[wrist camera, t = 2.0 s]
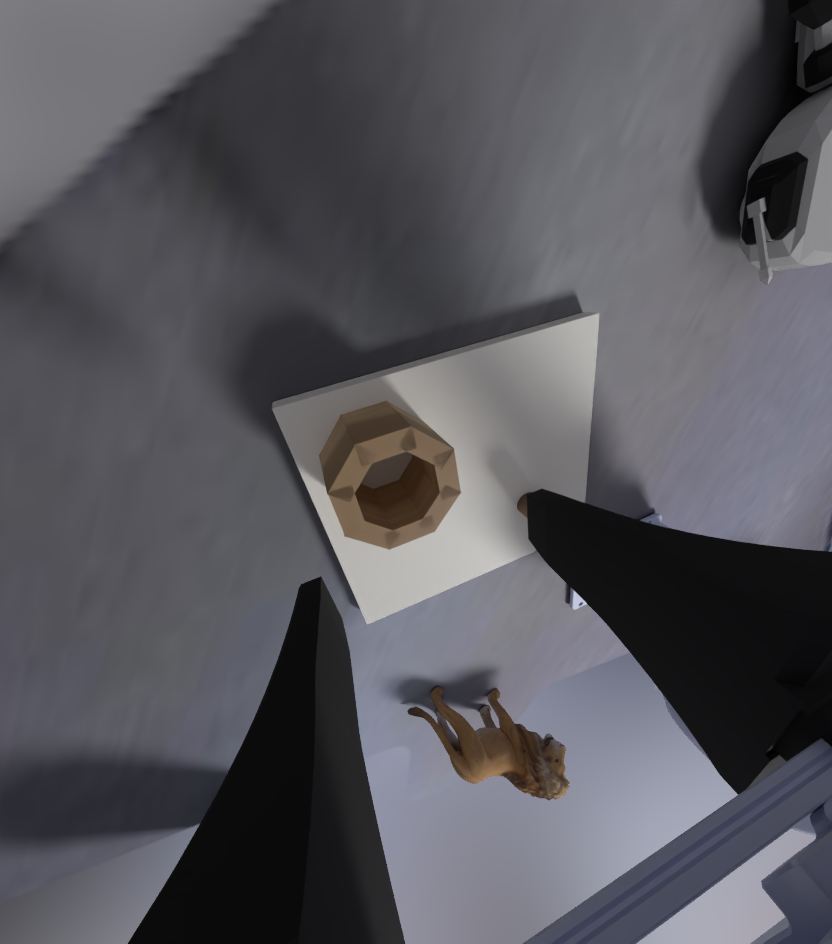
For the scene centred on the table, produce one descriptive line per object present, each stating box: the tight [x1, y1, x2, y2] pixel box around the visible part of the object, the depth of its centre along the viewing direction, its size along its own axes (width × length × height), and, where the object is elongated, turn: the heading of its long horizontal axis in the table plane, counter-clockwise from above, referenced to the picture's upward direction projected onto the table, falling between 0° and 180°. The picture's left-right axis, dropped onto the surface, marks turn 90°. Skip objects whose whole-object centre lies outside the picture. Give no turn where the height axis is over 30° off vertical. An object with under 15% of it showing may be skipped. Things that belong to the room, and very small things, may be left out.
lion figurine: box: [408, 687, 569, 800], centre depth 31 cm, size 15×5×9 cm, turn 66°
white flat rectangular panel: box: [272, 312, 600, 625], centre depth 21 cm, size 18×16×1 cm
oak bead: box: [319, 401, 461, 550], centre depth 16 cm, size 6×6×4 cm
